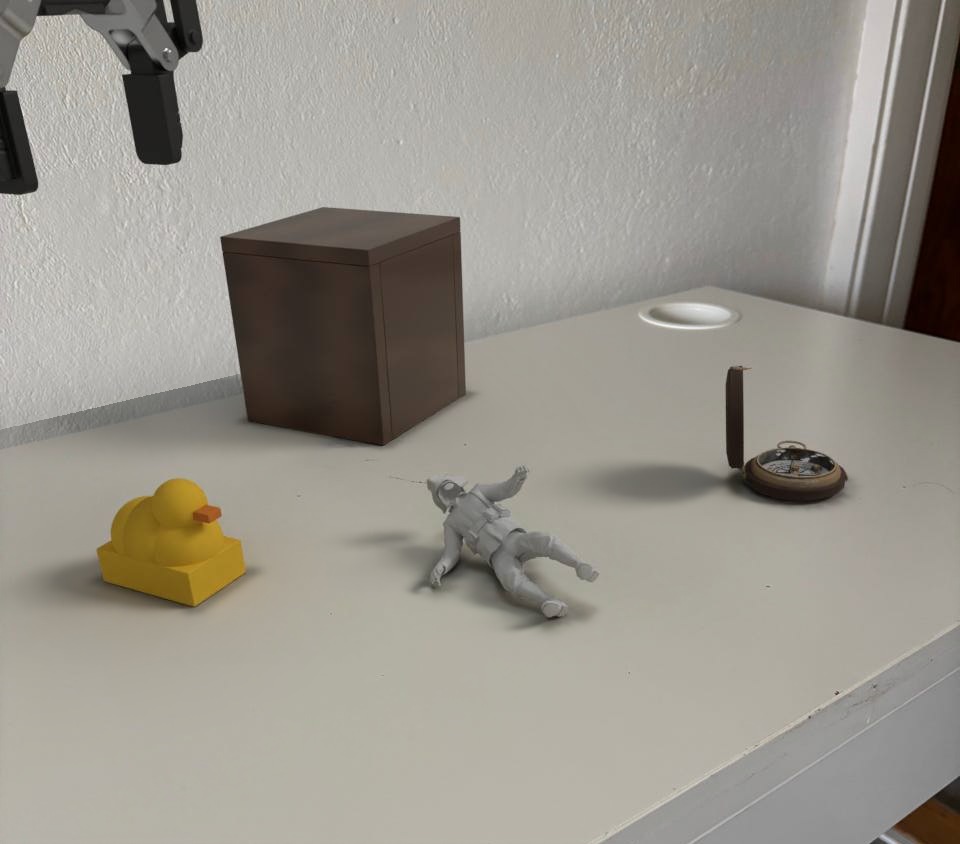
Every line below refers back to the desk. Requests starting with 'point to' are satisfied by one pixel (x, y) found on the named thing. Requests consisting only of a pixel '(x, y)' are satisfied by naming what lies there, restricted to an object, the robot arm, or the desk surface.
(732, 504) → the desk surface
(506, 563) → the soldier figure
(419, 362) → the brown wooden box
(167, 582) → the rubber duck
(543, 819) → the desk surface
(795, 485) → the compass
